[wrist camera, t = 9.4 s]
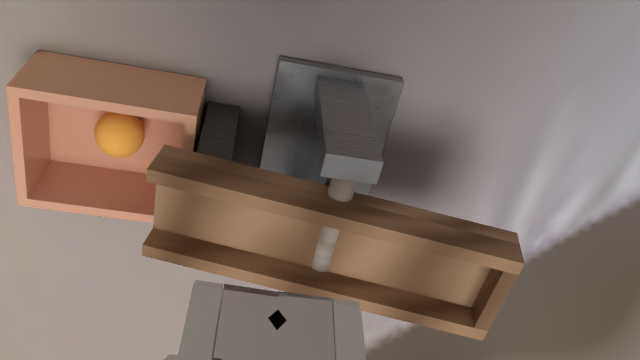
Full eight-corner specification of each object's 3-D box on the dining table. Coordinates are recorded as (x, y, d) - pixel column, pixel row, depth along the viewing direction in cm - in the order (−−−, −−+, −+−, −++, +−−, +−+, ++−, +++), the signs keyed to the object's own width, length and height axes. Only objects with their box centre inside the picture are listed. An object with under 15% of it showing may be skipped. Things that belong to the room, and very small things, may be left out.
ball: (92, 121, 35) (92, 103, 37) (96, 166, 36) (95, 146, 38) (145, 119, 36) (142, 102, 38) (147, 164, 37) (143, 144, 39)
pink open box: (206, 78, 37) (197, 116, 33) (195, 182, 42) (185, 227, 38) (38, 50, 36) (6, 85, 32) (44, 161, 40) (17, 205, 36)
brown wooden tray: (525, 212, 32) (534, 244, 29) (470, 320, 37) (474, 355, 34) (167, 122, 32) (148, 147, 29) (158, 241, 36) (141, 272, 34)
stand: (401, 77, 38) (433, 161, 30) (353, 230, 45) (368, 332, 37) (215, 44, 36) (194, 123, 28) (196, 209, 43) (175, 311, 35)
